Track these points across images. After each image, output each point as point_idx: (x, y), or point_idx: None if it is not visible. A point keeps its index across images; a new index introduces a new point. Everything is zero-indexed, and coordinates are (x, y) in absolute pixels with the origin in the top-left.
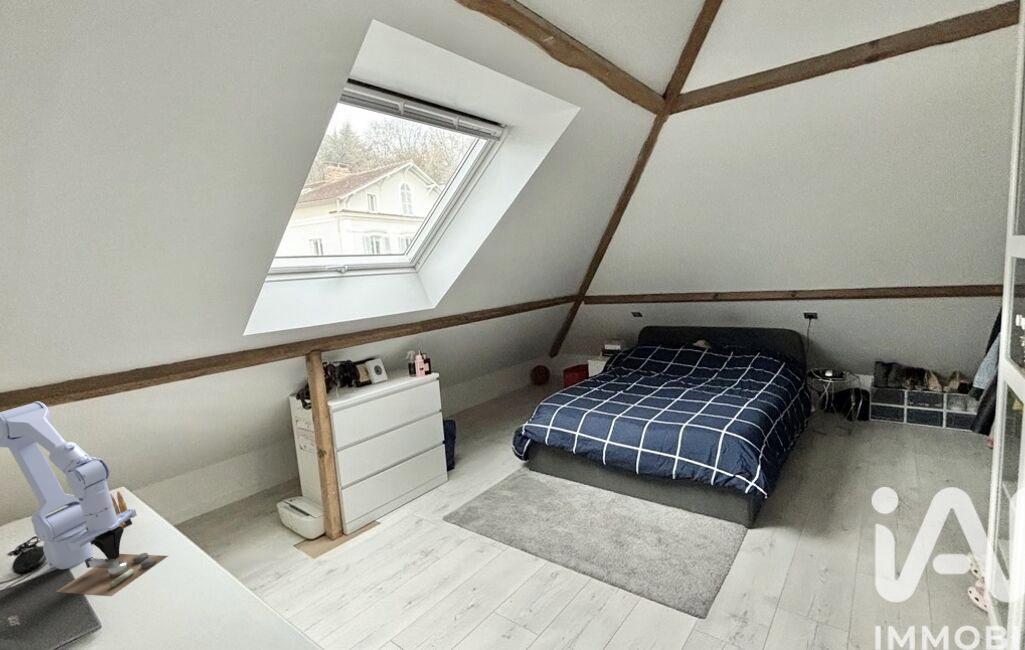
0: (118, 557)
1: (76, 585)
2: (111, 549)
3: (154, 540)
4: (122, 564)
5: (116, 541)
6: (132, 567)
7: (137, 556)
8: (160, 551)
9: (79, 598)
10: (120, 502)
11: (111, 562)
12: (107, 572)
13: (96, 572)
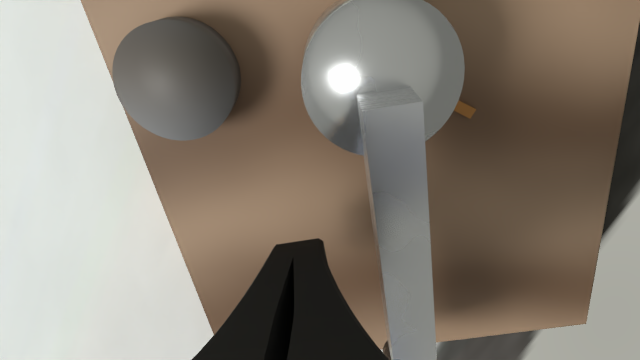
0: None
1: (527, 263)
2: (327, 304)
3: (27, 305)
4: (357, 33)
5: (246, 357)
6: (279, 33)
7: (185, 121)
8: (41, 107)
9: None
10: None
11: (420, 128)
12: None
13: None
